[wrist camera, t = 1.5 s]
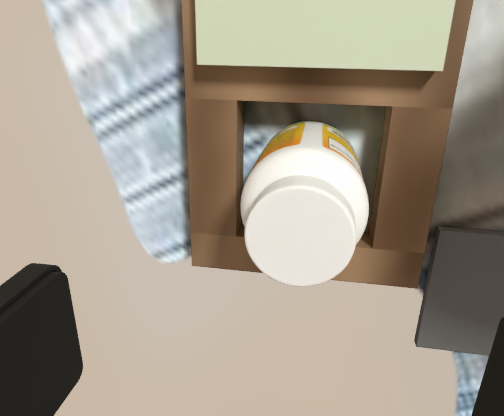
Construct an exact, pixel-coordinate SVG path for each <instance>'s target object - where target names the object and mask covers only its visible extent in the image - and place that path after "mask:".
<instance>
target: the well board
mask: <svg viewBox="0 0 504 416" xmlns="http://www.w3.org/2000/svg"><path fill="white" fill-rule="evenodd" d="M181 1H182V26H183V51H184V76H185V102H186V127H187V152H188V177H189V202H190V227H191V253H192V266H200V267H210V268H220V269H230V270H240V271H250V272H260V273H263V272H262V271H261V270H260V269H259V268H258V267H257V266H256V265H255V263H254V262H253V261H252V259H251V257H250V255H249V253H248V251H247V248H246V244H245V237H244V231H245V227H244V224H243V221H242V217H241V207H240V203H241V196H242V191H243V140H244V101H266V102H291V103H317V104H343V105H368V106H386V111H385V118H384V126H383V133H382V141H381V148H380V155H379V163H378V170H377V178H376V185H375V192H374V200H373V207H372V215H371V222H370V229H369V233H363V235H362V237H361V238H360V240H359V242H358V243H357V244H356V246H355V250H354V253H353V256H352V258H351V260H350V262H349V263H348V265H347V266H346V267H345V268H344V269H343V271H342V272H340V273H339V274H338V275H337V276H335V277H334V278H332V279H331V280H339V281H349V282H358V283H368V284H378V285H388V286H399V287H408V288H417V289H418V284H419V279H420V273H421V268H422V263H423V258H424V253H425V247H426V242H427V237H428V232H429V227H430V222H431V216H432V211H433V206H434V201H435V196H436V191H437V185H438V180H439V175H440V170H441V165H442V160H443V154H444V149H445V144H446V139H447V134H448V129H449V123H450V118H451V113H452V108H453V103H454V98H455V92H456V87H457V82H458V77H459V72H460V67H461V61H462V56H463V51H464V46H465V41H466V36H467V30H468V25H469V20H470V15H471V10H472V5H473V0H456V1H455V6H454V12H453V18H452V23H451V29H450V34H449V40H448V46H447V51H446V57H445V62H444V68H443V71H420V70H382V69H344V68H306V67H268V66H230V65H197V49H196V14H195V0H181Z"/></svg>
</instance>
